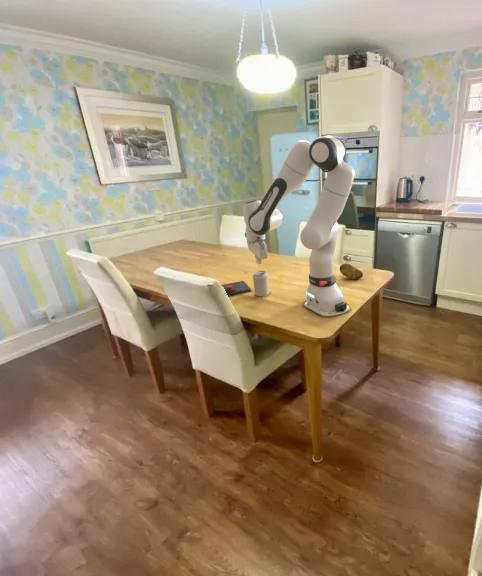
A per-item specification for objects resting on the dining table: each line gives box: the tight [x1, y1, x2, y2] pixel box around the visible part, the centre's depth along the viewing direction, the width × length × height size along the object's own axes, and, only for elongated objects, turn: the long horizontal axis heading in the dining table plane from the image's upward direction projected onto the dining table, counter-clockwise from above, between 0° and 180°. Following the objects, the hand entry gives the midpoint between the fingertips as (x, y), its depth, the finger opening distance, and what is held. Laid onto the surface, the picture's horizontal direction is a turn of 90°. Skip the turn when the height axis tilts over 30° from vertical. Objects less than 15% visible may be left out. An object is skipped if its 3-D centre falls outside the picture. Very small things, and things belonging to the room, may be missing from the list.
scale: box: [221, 280, 251, 297], centre depth 169 cm, size 15×13×3 cm
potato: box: [339, 263, 364, 280], centre depth 179 cm, size 8×13×8 cm, turn 50°
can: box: [252, 270, 270, 298], centre depth 160 cm, size 8×8×12 cm
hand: (259, 263), depth 156 cm, fingers closed
